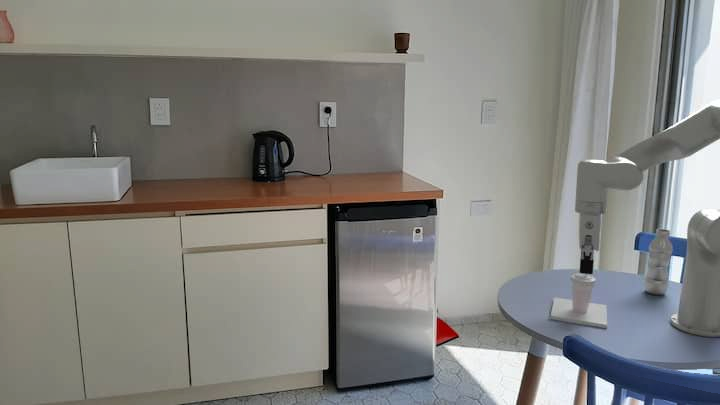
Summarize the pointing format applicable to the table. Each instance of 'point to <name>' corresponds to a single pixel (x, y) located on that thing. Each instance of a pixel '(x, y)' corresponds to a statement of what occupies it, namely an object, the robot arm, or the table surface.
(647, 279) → the plastic bottle
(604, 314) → the tile
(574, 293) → the smoothie
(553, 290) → the table surface
